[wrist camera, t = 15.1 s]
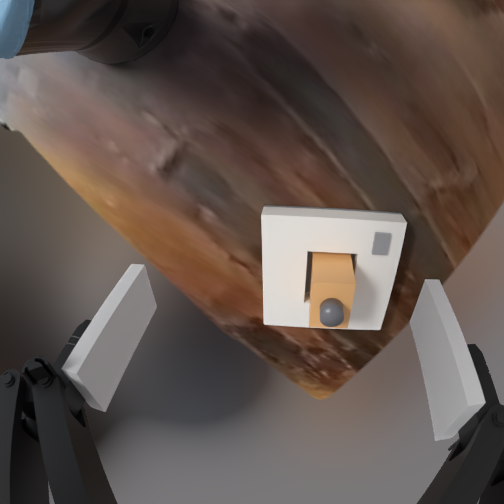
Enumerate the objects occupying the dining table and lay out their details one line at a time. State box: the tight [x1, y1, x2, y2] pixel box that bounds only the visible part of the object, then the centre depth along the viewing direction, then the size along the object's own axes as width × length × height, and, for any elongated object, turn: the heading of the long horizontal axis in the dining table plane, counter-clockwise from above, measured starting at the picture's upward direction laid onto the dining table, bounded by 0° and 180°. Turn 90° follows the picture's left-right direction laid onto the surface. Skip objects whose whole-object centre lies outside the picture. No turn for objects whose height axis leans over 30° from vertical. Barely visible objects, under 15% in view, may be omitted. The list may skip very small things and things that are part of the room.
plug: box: [309, 252, 356, 328], centre depth 39 cm, size 5×7×10 cm
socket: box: [261, 205, 407, 330], centre depth 42 cm, size 18×18×3 cm
